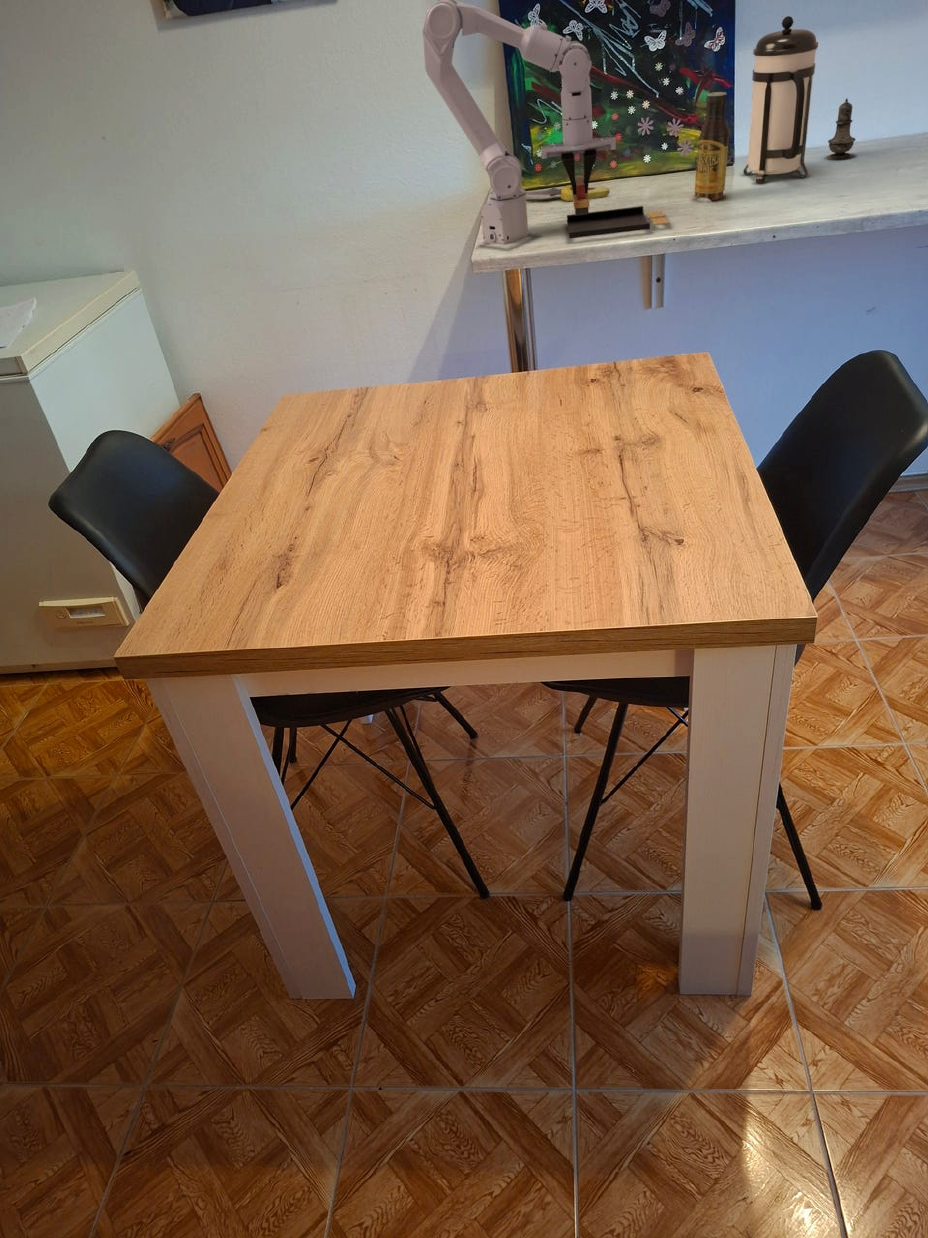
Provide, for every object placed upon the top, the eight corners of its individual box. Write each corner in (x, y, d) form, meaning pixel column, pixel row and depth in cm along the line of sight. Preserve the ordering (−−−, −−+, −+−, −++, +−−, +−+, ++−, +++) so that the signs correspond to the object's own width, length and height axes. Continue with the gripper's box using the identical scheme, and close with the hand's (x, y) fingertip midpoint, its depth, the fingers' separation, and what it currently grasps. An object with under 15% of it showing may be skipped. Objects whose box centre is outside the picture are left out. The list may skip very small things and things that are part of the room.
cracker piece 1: (649, 223, 180) (649, 217, 179) (647, 218, 183) (647, 212, 182) (664, 221, 179) (664, 215, 179) (662, 216, 183) (662, 210, 182)
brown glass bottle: (688, 201, 189) (692, 96, 177) (704, 193, 192) (708, 90, 180) (715, 203, 185) (721, 96, 173) (731, 195, 188) (737, 89, 176)
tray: (569, 243, 176) (569, 232, 175) (567, 224, 187) (566, 214, 186) (650, 233, 174) (650, 223, 173) (642, 215, 185) (642, 205, 184)
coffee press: (724, 182, 198) (732, 24, 179) (764, 165, 205) (775, 12, 187) (793, 188, 187) (809, 20, 168) (833, 170, 194) (852, 7, 176)
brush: (574, 216, 174) (573, 188, 171) (572, 203, 183) (571, 176, 179) (589, 214, 174) (588, 186, 171) (586, 201, 182) (585, 174, 179)
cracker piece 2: (653, 230, 176) (653, 223, 175) (651, 224, 179) (651, 218, 178) (668, 228, 175) (668, 222, 174) (666, 223, 178) (666, 216, 178)
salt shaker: (828, 161, 201) (835, 101, 194) (824, 155, 205) (830, 97, 198) (855, 158, 200) (863, 98, 192) (850, 152, 204) (858, 94, 197)
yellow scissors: (503, 204, 208) (603, 202, 197) (502, 192, 207) (602, 190, 196) (517, 195, 213) (614, 193, 203) (516, 183, 212) (614, 181, 201)
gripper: (539, 125, 166) (544, 202, 174) (616, 115, 164) (617, 193, 172) (539, 119, 171) (544, 193, 180) (613, 109, 170) (615, 184, 178)
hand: (580, 192), depth 176 cm, fingers closed on brush, 2 cm apart
